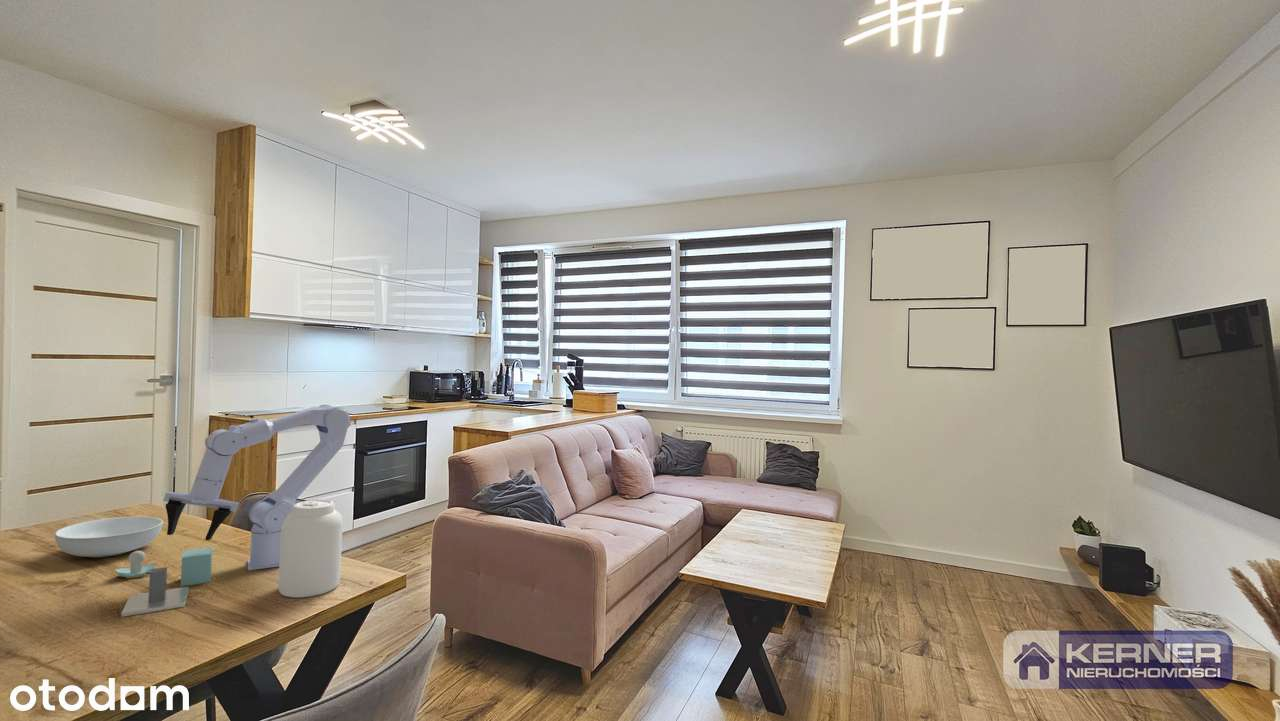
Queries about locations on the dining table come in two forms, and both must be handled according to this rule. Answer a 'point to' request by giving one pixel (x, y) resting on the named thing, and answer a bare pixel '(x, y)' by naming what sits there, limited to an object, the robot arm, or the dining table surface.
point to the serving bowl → (108, 536)
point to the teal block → (196, 566)
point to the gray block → (156, 596)
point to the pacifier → (135, 566)
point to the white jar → (310, 549)
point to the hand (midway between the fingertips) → (189, 536)
